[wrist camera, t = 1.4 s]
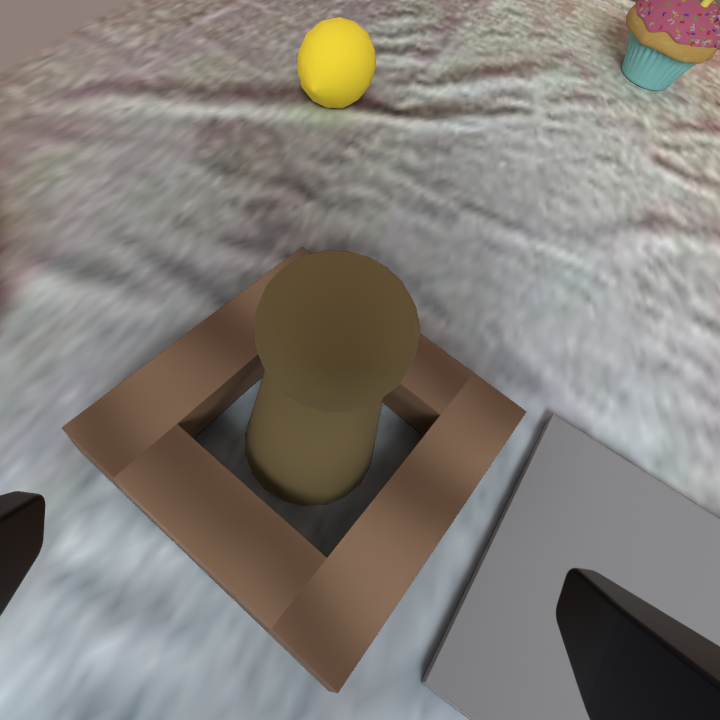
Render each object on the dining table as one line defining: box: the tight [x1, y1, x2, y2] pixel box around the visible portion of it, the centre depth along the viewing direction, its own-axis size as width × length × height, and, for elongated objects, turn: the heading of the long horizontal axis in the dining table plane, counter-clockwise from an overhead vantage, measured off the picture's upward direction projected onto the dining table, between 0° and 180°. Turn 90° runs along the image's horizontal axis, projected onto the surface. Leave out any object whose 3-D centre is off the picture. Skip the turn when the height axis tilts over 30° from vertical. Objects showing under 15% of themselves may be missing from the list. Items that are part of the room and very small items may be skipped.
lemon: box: [297, 17, 376, 108], centre depth 36 cm, size 7×5×5 cm
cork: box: [245, 251, 420, 506], centre depth 19 cm, size 6×6×11 cm
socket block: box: [62, 247, 526, 693], centre depth 23 cm, size 14×14×2 cm
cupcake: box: [622, 0, 720, 91], centre depth 44 cm, size 9×8×12 cm
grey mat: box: [421, 414, 720, 720], centre depth 22 cm, size 14×14×1 cm
